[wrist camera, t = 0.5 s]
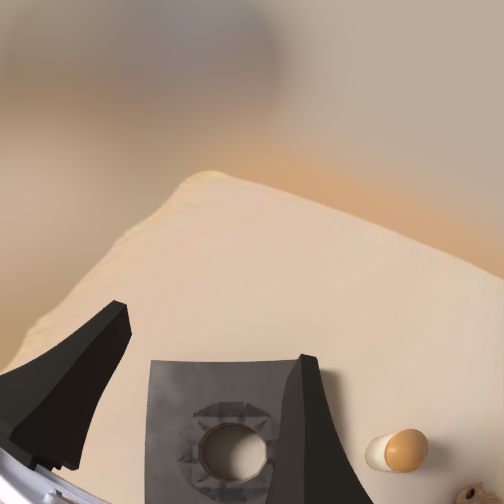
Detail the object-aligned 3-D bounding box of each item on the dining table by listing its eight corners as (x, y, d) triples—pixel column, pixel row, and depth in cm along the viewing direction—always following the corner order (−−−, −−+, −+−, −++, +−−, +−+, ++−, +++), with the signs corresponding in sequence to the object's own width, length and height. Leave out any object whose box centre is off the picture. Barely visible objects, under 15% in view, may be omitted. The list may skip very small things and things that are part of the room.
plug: (401, 465, 22) (429, 464, 17) (365, 474, 22) (389, 477, 17) (397, 431, 24) (425, 424, 19) (362, 439, 24) (385, 435, 19)
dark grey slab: (320, 524, 18) (326, 531, 16) (155, 523, 18) (145, 529, 16) (308, 366, 30) (313, 358, 27) (159, 368, 29) (151, 360, 27)
